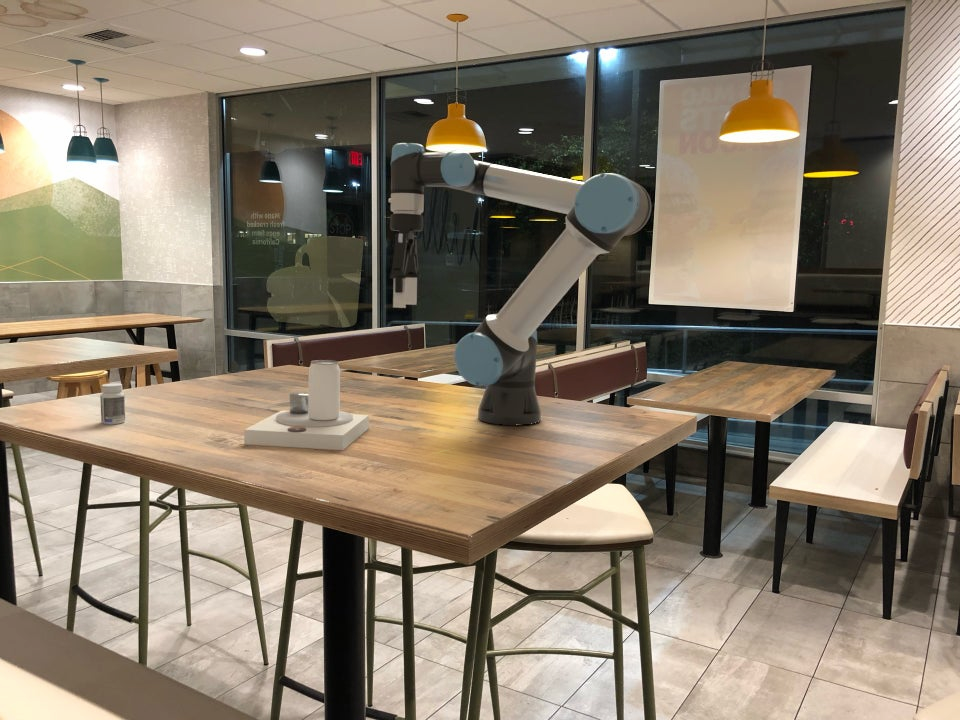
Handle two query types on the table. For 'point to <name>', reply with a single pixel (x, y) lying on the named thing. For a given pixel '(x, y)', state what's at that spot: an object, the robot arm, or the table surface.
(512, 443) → the table surface
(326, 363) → the can
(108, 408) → the pill bottle
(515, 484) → the table surface
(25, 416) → the table surface
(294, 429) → the scale
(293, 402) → the cylinder
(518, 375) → the robot arm
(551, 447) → the table surface
